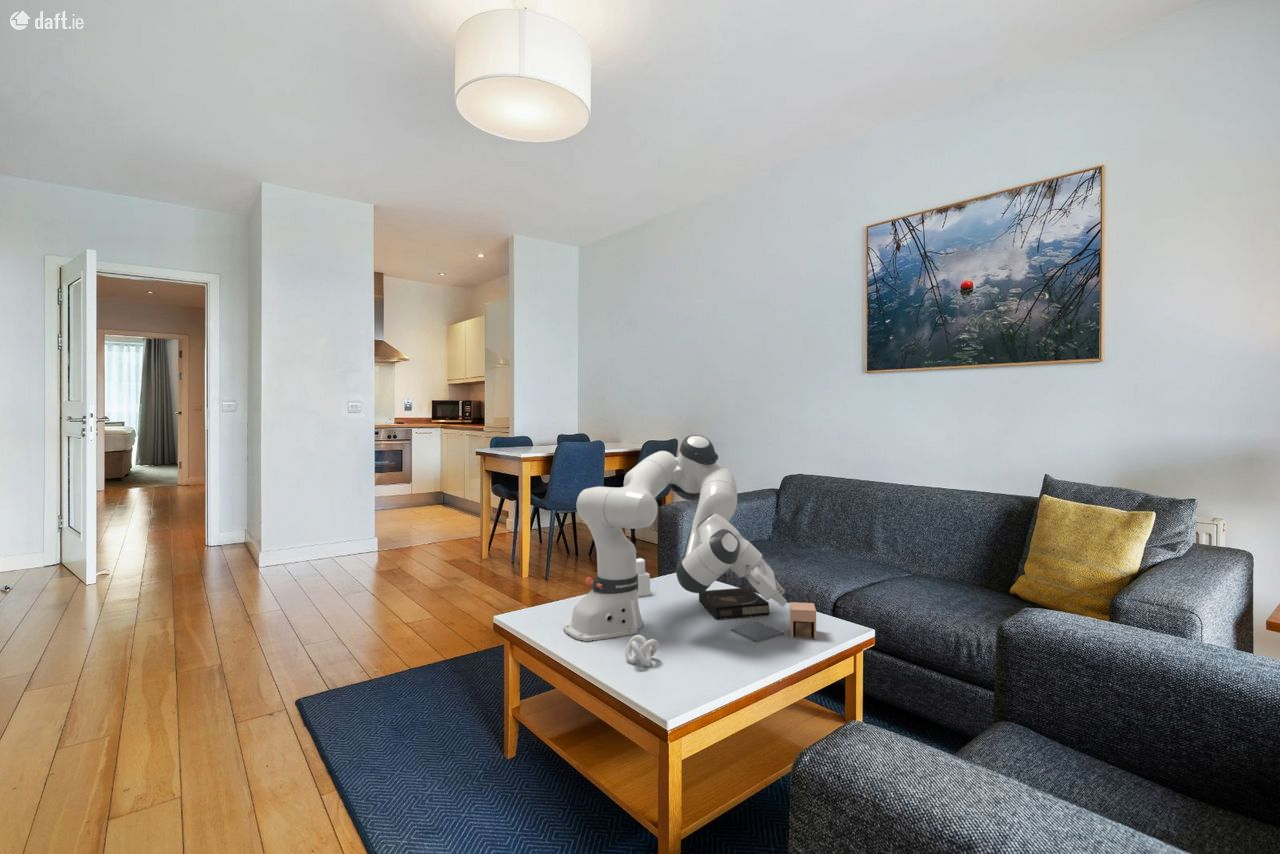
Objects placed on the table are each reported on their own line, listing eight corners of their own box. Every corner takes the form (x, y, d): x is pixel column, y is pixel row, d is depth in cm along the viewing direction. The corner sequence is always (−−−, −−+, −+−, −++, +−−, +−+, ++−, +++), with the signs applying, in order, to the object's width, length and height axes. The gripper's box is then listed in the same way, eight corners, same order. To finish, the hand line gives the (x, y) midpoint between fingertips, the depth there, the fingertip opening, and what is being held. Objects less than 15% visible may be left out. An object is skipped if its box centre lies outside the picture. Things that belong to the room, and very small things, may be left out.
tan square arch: (791, 637, 160) (791, 609, 160) (789, 629, 167) (789, 602, 166) (816, 639, 159) (816, 610, 159) (814, 630, 165) (813, 603, 165)
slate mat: (756, 641, 158) (756, 639, 158) (730, 630, 166) (730, 628, 166) (783, 633, 163) (783, 632, 163) (757, 623, 172) (757, 621, 172)
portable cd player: (716, 621, 175) (716, 607, 175) (698, 603, 192) (698, 591, 192) (769, 617, 178) (769, 603, 178) (748, 599, 195) (747, 587, 195)
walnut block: (795, 636, 161) (795, 621, 161) (794, 631, 165) (794, 617, 165) (811, 637, 161) (811, 622, 160) (809, 632, 164) (809, 617, 164)
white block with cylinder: (622, 592, 204) (622, 556, 204) (642, 589, 207) (641, 554, 206) (630, 598, 197) (629, 561, 197) (650, 595, 200) (650, 559, 200)
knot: (649, 653, 152) (649, 630, 151) (665, 665, 144) (665, 640, 144) (622, 659, 148) (622, 635, 148) (637, 671, 141) (636, 646, 141)
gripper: (755, 563, 155) (795, 602, 153) (754, 545, 175) (789, 580, 173) (737, 580, 156) (777, 619, 154) (739, 560, 176) (774, 595, 174)
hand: (783, 598), depth 164 cm, fingers open, 8 cm apart
